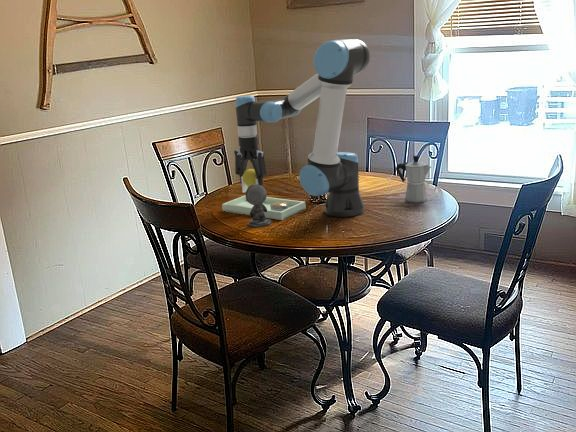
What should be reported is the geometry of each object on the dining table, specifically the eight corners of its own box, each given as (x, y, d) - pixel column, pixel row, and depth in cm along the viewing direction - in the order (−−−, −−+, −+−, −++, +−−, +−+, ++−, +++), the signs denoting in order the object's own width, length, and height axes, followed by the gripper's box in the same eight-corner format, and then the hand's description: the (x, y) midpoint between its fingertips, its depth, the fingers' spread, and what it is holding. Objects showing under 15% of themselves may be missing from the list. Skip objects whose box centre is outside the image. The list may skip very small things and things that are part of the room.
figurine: (257, 218, 223) (254, 180, 219) (277, 222, 217) (274, 183, 213) (241, 225, 217) (238, 186, 213) (261, 228, 211) (258, 188, 207)
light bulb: (242, 195, 233) (239, 170, 230) (246, 191, 239) (244, 167, 236) (258, 195, 231) (256, 170, 228) (262, 191, 238) (260, 167, 235)
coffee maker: (435, 198, 234) (435, 154, 229) (427, 204, 227) (427, 158, 222) (400, 195, 242) (400, 152, 237) (391, 200, 235) (391, 156, 230)
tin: (291, 209, 230) (291, 202, 229) (281, 213, 225) (281, 207, 224) (277, 207, 234) (277, 200, 233) (267, 211, 229) (266, 205, 228)
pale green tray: (305, 209, 232) (305, 201, 231) (282, 220, 219) (281, 212, 219) (247, 201, 249) (246, 194, 248) (222, 211, 237) (221, 204, 236)
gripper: (273, 135, 226) (277, 192, 232) (234, 133, 237) (239, 188, 244) (261, 138, 220) (265, 197, 227) (222, 136, 231) (227, 192, 238)
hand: (252, 192), depth 235 cm, fingers closed on light bulb, 7 cm apart
